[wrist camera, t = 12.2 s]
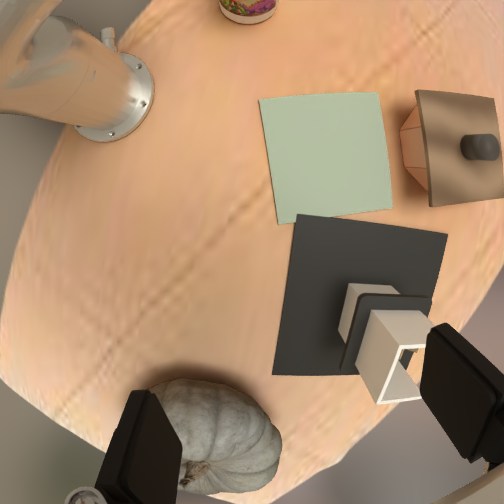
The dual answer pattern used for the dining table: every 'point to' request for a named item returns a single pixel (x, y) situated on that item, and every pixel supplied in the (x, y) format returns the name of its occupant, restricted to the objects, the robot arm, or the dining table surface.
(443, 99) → the walnut lid
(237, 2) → the milk bottle
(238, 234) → the dining table surface
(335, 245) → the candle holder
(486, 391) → the robot arm
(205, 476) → the gourd
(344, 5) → the dining table surface
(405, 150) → the terracotta bowl
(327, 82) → the dining table surface
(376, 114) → the sage mat
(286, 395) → the dining table surface
